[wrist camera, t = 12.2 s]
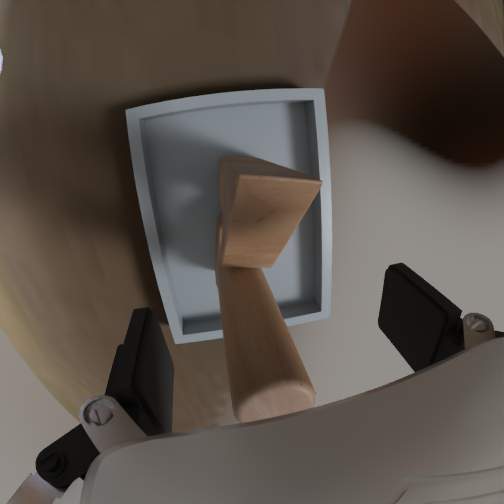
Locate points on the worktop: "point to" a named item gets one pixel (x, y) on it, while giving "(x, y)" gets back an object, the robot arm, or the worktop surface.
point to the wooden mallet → (259, 285)
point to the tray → (208, 204)
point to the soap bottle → (0, 60)
